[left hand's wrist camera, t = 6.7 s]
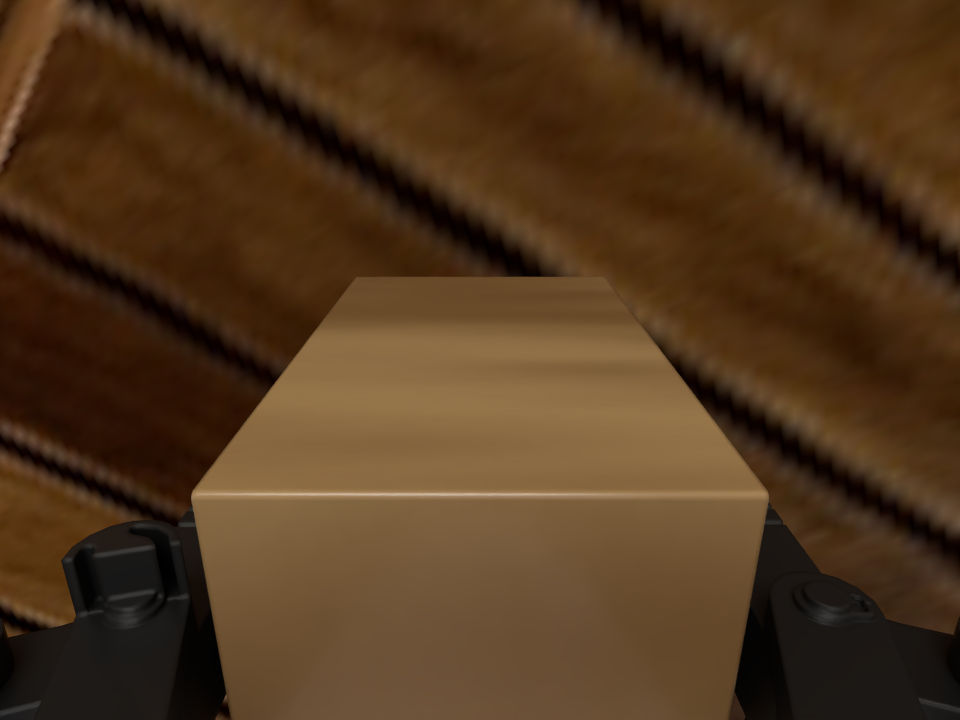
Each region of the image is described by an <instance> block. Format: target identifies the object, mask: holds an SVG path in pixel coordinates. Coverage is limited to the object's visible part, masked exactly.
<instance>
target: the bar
mask: <svg viewBox="0 0 960 720" xmlns="http://www.w3.org/2000/svg"><path fill="white" fill-rule="evenodd" d="M191 500H192V506H193V511H194V517H195V522H196V528H197V533H198V539H199V544H200V550H201V556H202V561H203V567H204V572H205V578H206V583H207V589H208V594H209V600H210V605H211V611H212V616H213V622H214V628H215V633H216V639H217V644H218V650H219V655H220V661H221V666H222V672H223V677H224V683H225V688H226V694H227V699H228V705H229V711H230V716H231V720H729V718H730V712H731V707H732V701H733V695H734V690H735V684H736V679H737V673H738V668H739V662H740V657H741V651H742V646H743V640H744V635H745V629H746V624H747V618H748V613H749V607H750V602H751V596H752V591H753V585H754V580H755V574H756V568H757V563H758V557H759V552H760V546H761V541H762V535H763V530H764V524H765V519H766V513H767V508H768V502H769V495H768V491H767V490H766V489H765V487H764V486H763V485H762V483H761V482H760V481H759V479H758V478H757V477H756V475H755V474H754V473H753V471H752V470H751V469H750V467H749V466H748V465H747V464H746V462H745V461H744V460H743V458H742V457H741V456H740V454H739V453H738V452H737V450H736V449H735V448H734V446H733V445H732V444H731V442H730V441H729V440H728V439H727V437H726V436H725V435H724V433H723V432H722V431H721V429H720V428H719V427H718V425H717V424H716V423H715V421H714V420H713V419H712V417H711V416H710V415H709V414H708V412H707V411H706V410H705V408H704V407H703V406H702V404H701V403H700V402H699V400H698V399H697V398H696V396H695V395H694V394H693V392H692V391H691V390H690V389H689V387H688V386H687V385H686V383H685V382H684V381H683V379H682V378H681V377H680V375H679V374H678V373H677V371H676V370H675V369H674V367H673V366H672V365H671V364H670V362H669V361H668V360H667V358H666V357H665V356H664V354H663V353H662V352H661V350H660V349H659V348H658V346H657V345H656V344H655V342H654V341H653V340H652V338H651V337H650V336H649V335H648V333H647V332H646V331H645V329H644V328H643V327H642V325H641V324H640V323H639V321H638V320H637V319H636V317H635V316H634V315H633V313H632V312H631V311H630V310H629V308H628V307H627V306H626V304H625V303H624V302H623V300H622V299H621V298H620V296H619V295H618V294H617V292H616V291H615V290H614V288H613V287H612V286H611V285H610V283H609V282H608V281H607V279H606V278H604V277H356V278H355V279H354V280H353V281H352V283H351V284H350V285H349V287H348V288H347V289H346V291H345V292H344V293H343V295H342V296H341V297H340V299H339V300H338V301H337V302H336V304H335V305H334V306H333V308H332V309H331V310H330V312H329V313H328V314H327V316H326V317H325V318H324V320H323V321H322V322H321V323H320V325H319V326H318V327H317V329H316V330H315V331H314V333H313V334H312V335H311V337H310V338H309V339H308V340H307V342H306V343H305V344H304V346H303V347H302V348H301V350H300V351H299V352H298V354H297V355H296V356H295V358H294V359H293V360H292V361H291V363H290V364H289V365H288V367H287V368H286V369H285V371H284V372H283V373H282V375H281V376H280V377H279V379H278V380H277V381H276V382H275V384H274V385H273V386H272V388H271V389H270V390H269V392H268V393H267V394H266V396H265V397H264V398H263V400H262V401H261V402H260V403H259V405H258V406H257V407H256V409H255V410H254V411H253V413H252V414H251V415H250V417H249V418H248V419H247V420H246V422H245V423H244V424H243V426H242V427H241V428H240V430H239V431H238V432H237V434H236V435H235V436H234V438H233V439H232V440H231V441H230V443H229V444H228V445H227V447H226V448H225V449H224V451H223V452H222V453H221V455H220V456H219V457H218V459H217V460H216V461H215V462H214V464H213V465H212V466H211V468H210V469H209V470H208V472H207V473H206V474H205V476H204V477H203V478H202V479H201V481H200V482H199V483H198V485H197V486H196V487H195V489H194V490H193V492H192V495H191Z"/></svg>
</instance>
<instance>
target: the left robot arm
mask: <svg viewBox="0 0 960 720" xmlns="http://www.w3.org/2000/svg"><path fill="white" fill-rule="evenodd" d="M61 562H62V565H63V569H64V573H65V576H66V580H67V583H68V587H69V591H70V594H71V598H72V602H73V605H74V609H75V613H76V618H75V620H74V622H73V623H69V624H66V625H62V626H59V627H54V628H49V629H45V630H40V631H36V632H31V633H27V634H22V635H17V636H13V637H8V636H7V633H6V630H5V627H4V624H3V621H2V619H0V720H215V718H216V716H217V714H218V711H219V709H220V707H221V704H222V702H223V700H224V697H225V695H226V688H225V683H224V677H223V672H222V666H221V661H220V655H219V650H218V644H217V639H216V633H215V628H214V622H213V616H212V611H211V605H210V600H209V594H208V589H207V583H206V578H205V572H204V567H203V561H202V556H201V550H200V544H199V539H198V533H197V528H196V522H195V517H194V511H193V506H192V505H191V507H190V510H189V512H186V513H185V515H184V516H183V517H182V519H181V520H180V522H179V523H178V527H175V528H174V527H173V526H172V525H171V524H169V523H165V522H160V521H156V520H142V521H131V522H126V523H122V524H118V525H114V526H110V527H108V528H106V529H103V530H101V531H99V532H96V533H94V534H91V535H89V536H88V537H86V538H85V539H83V540H82V541H81V542H79V543H78V544H76V545H75V546H73V547H72V548H71V549H70V550H69V552H68V553H67V554H66V555H65V557H64V558H63V559H62V560H61ZM734 691H735V693H736V695H737V698H738V700H739V702H740V705H741V707H742V709H743V711H744V714H745V720H960V617H959V620H958V623H957V626H956V629H955V632H954V635H951V634H947V633H942V632H937V631H933V630H928V629H924V628H919V627H914V626H910V625H905V624H901V623H898V622H894V621H891V620H887V619H885V616H884V614H883V613H882V612H881V610H880V609H879V607H878V606H877V604H876V603H875V601H874V600H873V599H871V598H870V597H869V596H867V595H866V594H865V593H864V592H862V591H861V590H860V589H858V588H857V587H855V586H853V585H851V584H849V583H847V582H845V581H843V580H841V579H839V578H836V577H833V576H829V575H825V574H822V573H821V572H820V571H819V569H818V568H817V567H816V565H815V564H814V563H813V561H812V560H811V559H810V557H809V556H808V555H807V553H806V552H805V550H804V549H803V548H802V546H801V545H800V544H799V542H798V541H797V540H796V538H795V537H794V536H793V534H792V533H791V532H790V530H789V529H788V528H787V526H786V525H783V521H782V519H781V518H780V517H779V515H778V514H777V513H776V511H775V510H774V509H772V508H771V505H770V503H769V502H768V508H767V513H766V519H765V524H764V530H763V535H762V541H761V546H760V552H759V557H758V563H757V568H756V574H755V580H754V585H753V591H752V596H751V602H750V607H749V613H748V618H747V624H746V629H745V635H744V640H743V646H742V651H741V657H740V662H739V668H738V673H737V679H736V684H735V690H734Z"/></svg>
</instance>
